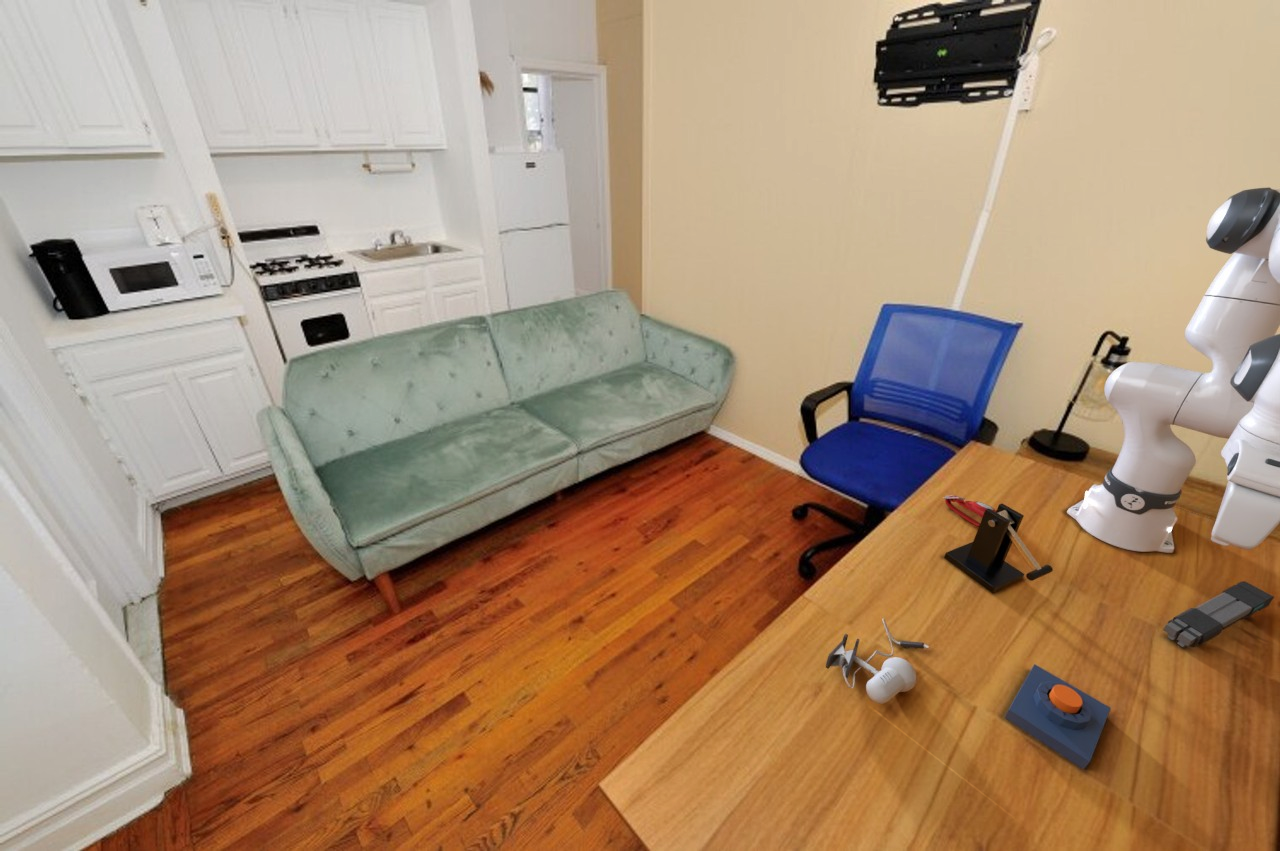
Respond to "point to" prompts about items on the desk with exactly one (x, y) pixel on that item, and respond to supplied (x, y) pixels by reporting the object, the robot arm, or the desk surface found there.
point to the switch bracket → (989, 551)
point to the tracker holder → (967, 507)
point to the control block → (1058, 718)
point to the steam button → (1065, 699)
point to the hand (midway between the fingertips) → (1220, 539)
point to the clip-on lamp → (885, 682)
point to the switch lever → (1025, 552)
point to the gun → (1217, 614)
